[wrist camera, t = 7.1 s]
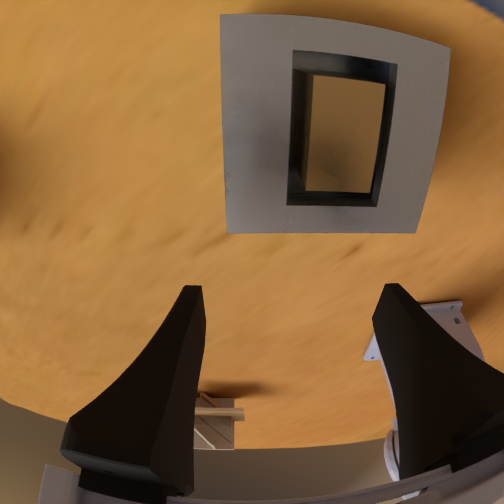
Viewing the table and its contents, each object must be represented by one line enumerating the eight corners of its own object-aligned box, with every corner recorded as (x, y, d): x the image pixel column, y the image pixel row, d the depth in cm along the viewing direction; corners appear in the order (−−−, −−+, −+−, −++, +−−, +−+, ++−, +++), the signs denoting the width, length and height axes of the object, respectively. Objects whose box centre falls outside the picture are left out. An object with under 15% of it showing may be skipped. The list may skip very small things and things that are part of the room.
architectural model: (184, 382, 34) (178, 439, 28) (243, 382, 34) (243, 441, 28) (189, 395, 36) (184, 448, 30) (244, 395, 36) (245, 449, 30)
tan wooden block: (348, 73, 14) (385, 84, 10) (340, 155, 17) (369, 193, 13) (294, 68, 14) (313, 75, 10) (290, 153, 17) (305, 190, 13)
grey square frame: (403, 43, 13) (450, 47, 9) (383, 191, 19) (415, 233, 15) (227, 25, 13) (220, 14, 9) (231, 189, 19) (226, 233, 15)
